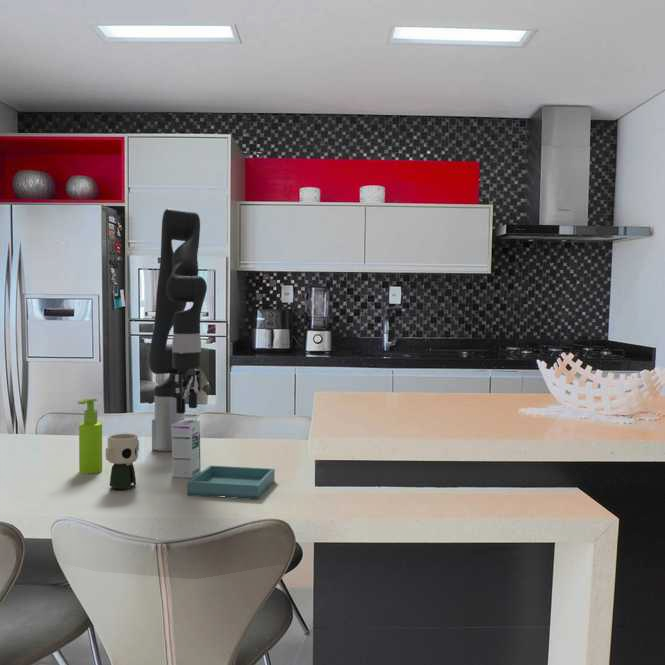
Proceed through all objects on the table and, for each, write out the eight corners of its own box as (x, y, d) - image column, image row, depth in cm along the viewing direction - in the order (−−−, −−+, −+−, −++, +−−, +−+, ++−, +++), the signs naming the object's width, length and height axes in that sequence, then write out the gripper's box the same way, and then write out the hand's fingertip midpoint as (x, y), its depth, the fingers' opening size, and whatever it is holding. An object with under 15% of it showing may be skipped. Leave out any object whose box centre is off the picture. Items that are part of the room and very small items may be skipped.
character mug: (117, 495, 150) (117, 441, 150) (95, 491, 153) (95, 438, 153) (149, 483, 160) (149, 433, 159) (127, 480, 163) (127, 430, 162)
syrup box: (192, 478, 165) (192, 424, 165) (171, 477, 166) (171, 423, 166) (200, 473, 171) (200, 420, 170) (180, 471, 172) (180, 419, 171)
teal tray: (187, 495, 151) (187, 481, 151) (210, 477, 166) (210, 465, 166) (258, 499, 148) (258, 485, 148) (274, 481, 164) (274, 468, 164)
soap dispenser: (71, 473, 169) (71, 400, 168) (89, 467, 175) (89, 396, 174) (89, 475, 167) (89, 401, 166) (106, 469, 173) (106, 397, 172)
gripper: (183, 348, 175) (184, 406, 176) (162, 352, 161) (162, 414, 161) (209, 349, 174) (209, 407, 174) (190, 352, 160) (190, 415, 160)
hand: (187, 410), depth 168 cm, fingers open, 8 cm apart
